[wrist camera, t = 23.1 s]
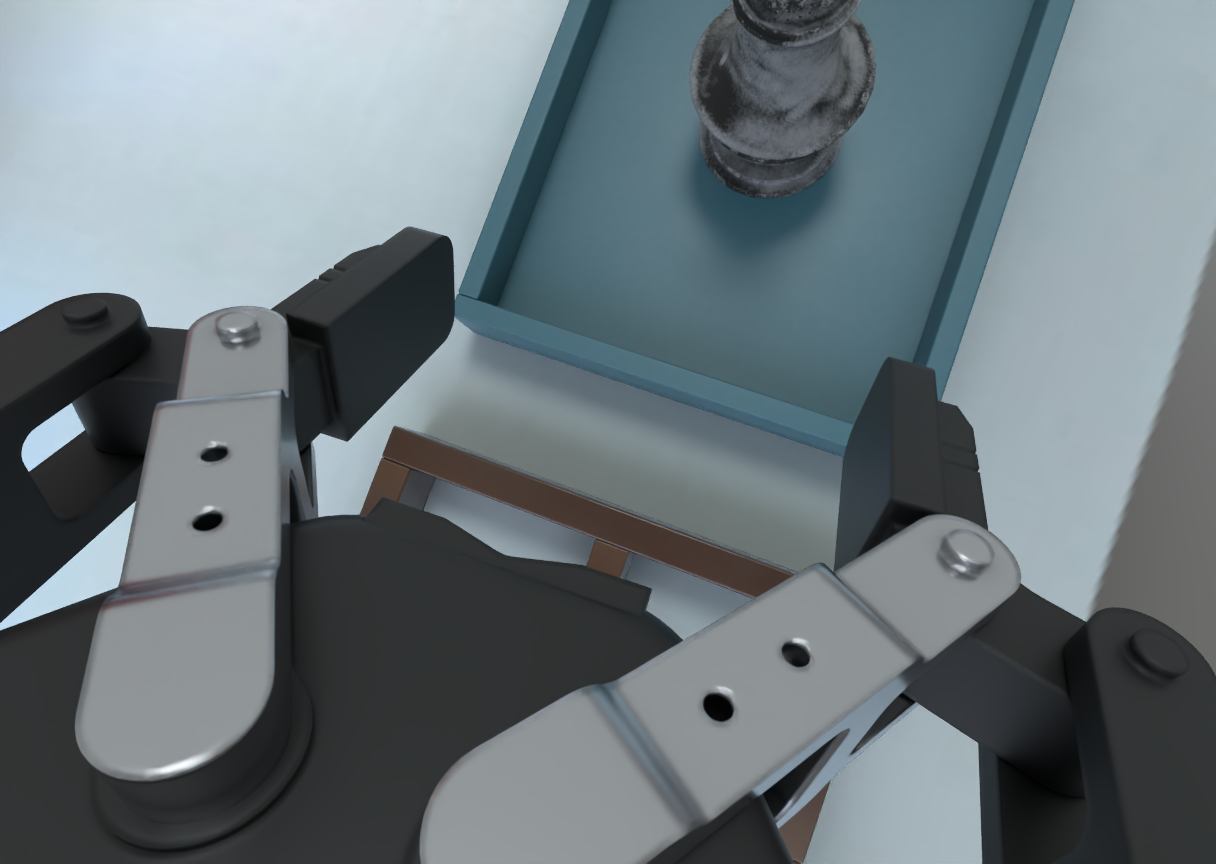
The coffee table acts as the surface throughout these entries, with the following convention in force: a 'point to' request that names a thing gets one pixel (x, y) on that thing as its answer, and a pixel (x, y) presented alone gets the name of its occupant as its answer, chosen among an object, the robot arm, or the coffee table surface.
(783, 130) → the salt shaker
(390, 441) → the spice rack
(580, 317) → the tray
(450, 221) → the coffee table surface
